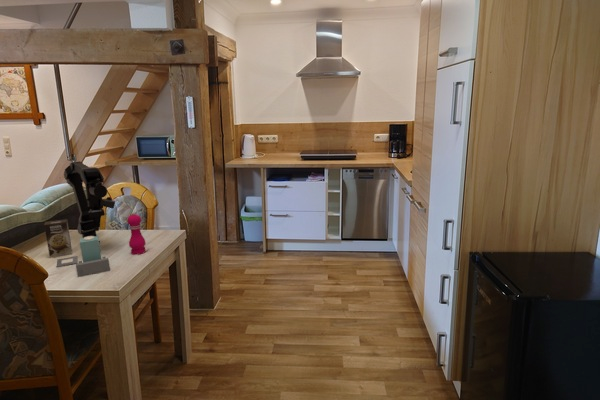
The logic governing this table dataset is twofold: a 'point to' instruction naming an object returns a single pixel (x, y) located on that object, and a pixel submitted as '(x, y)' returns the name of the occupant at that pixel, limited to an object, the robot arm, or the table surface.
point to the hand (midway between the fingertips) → (98, 226)
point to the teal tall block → (90, 248)
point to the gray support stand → (92, 267)
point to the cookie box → (58, 238)
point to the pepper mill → (136, 234)
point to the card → (67, 261)
